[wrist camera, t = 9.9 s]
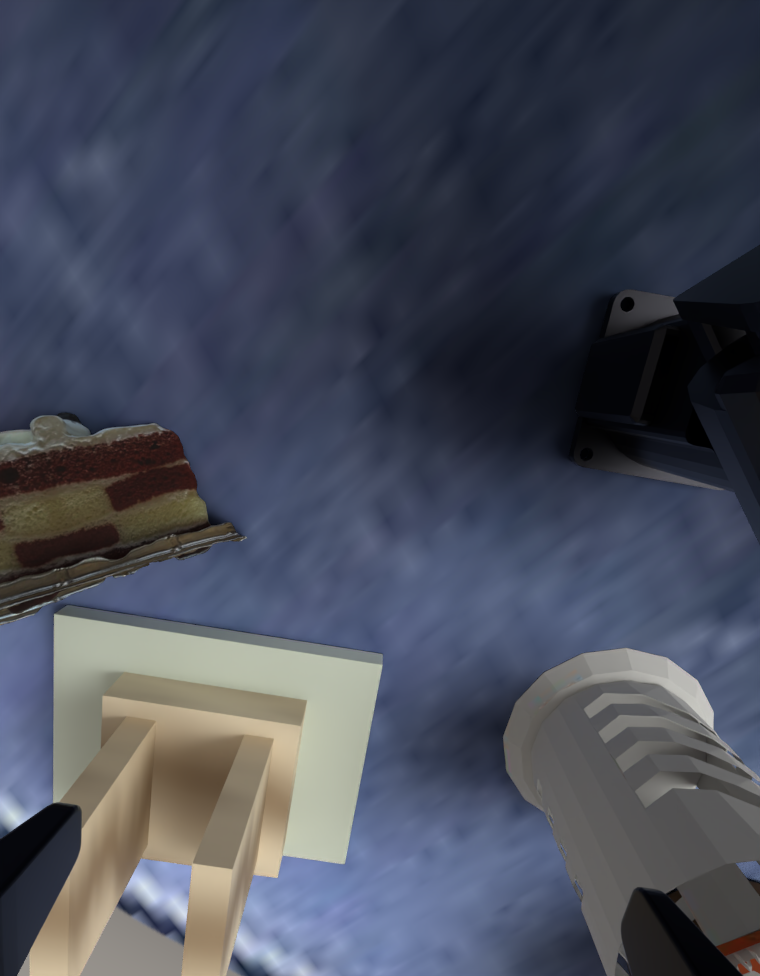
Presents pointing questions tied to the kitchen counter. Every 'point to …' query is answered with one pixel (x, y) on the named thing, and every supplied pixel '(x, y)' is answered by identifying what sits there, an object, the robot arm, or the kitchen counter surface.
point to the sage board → (237, 665)
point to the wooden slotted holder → (177, 812)
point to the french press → (640, 796)
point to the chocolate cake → (92, 509)
